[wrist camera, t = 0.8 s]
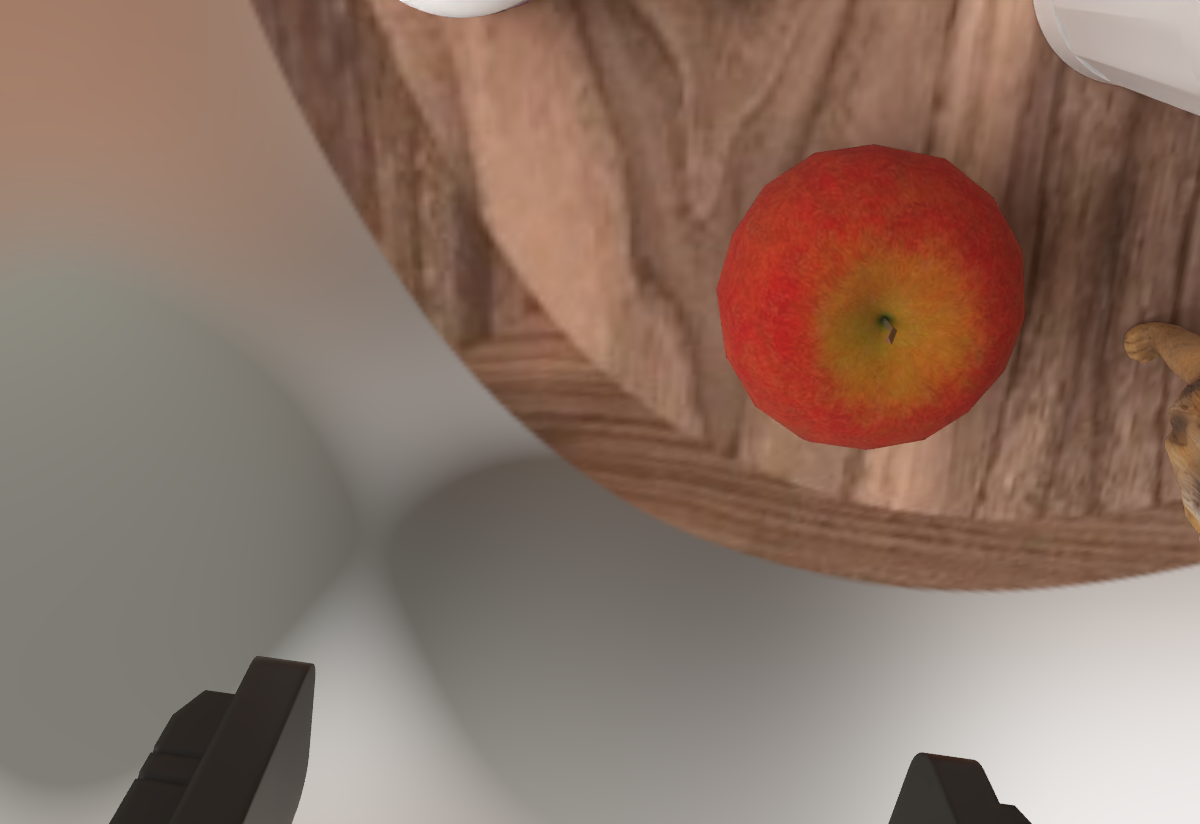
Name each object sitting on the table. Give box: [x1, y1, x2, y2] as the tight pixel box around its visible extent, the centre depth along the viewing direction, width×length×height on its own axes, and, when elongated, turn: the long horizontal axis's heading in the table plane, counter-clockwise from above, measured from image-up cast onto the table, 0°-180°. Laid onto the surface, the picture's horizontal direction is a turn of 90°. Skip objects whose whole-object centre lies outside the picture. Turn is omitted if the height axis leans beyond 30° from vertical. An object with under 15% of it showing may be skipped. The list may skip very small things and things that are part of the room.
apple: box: [717, 144, 1025, 450], centre depth 27 cm, size 8×8×8 cm
